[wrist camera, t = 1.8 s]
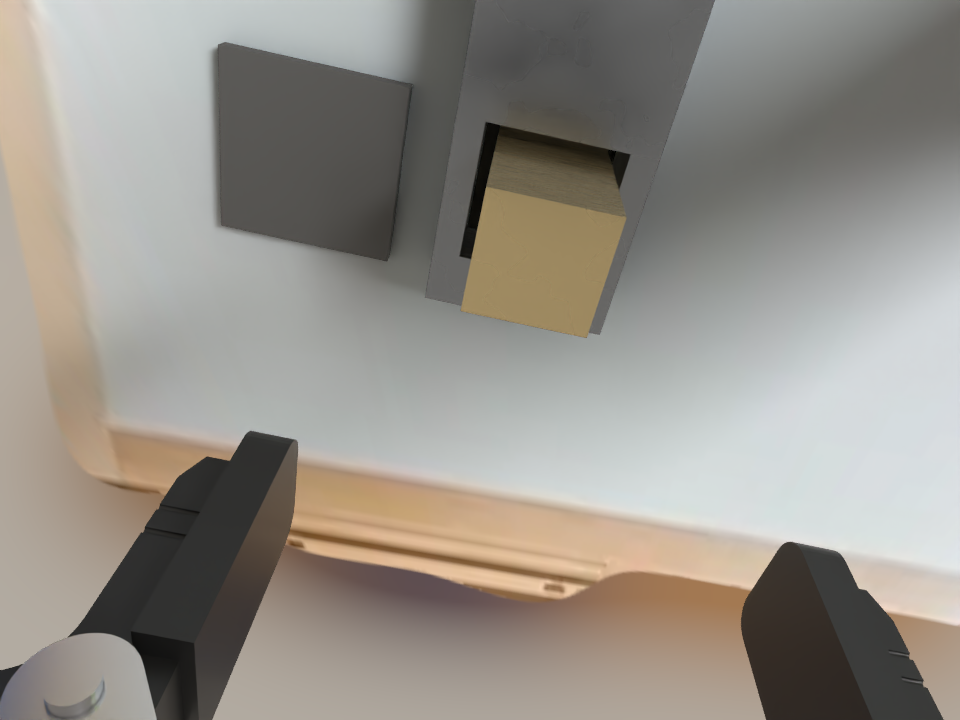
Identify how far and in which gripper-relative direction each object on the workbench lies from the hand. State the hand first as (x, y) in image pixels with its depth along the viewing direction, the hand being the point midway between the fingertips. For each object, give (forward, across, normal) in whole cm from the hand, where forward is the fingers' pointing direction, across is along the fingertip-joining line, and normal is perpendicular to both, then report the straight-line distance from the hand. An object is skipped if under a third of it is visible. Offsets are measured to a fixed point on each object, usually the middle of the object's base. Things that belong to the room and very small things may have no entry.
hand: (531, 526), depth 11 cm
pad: (+18, +9, +1) cm, 20 cm away
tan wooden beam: (+18, 0, 0) cm, 18 cm away
